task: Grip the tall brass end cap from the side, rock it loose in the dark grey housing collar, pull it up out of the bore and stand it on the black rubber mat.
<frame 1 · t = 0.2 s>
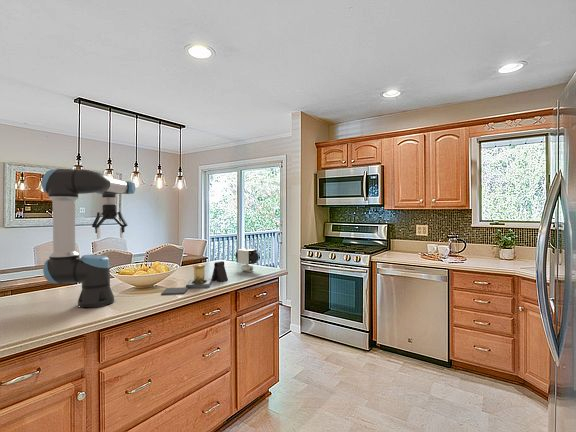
hand: (110, 238, 199), 28 cm above the table, tool pointing down, fingers open, 13 cm apart
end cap: (199, 275, 189), in the housing
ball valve: (247, 271, 231), on the table
housing: (199, 285, 189), on the table
phone stand: (219, 280, 202), on the table
mat: (175, 291, 175), on the table
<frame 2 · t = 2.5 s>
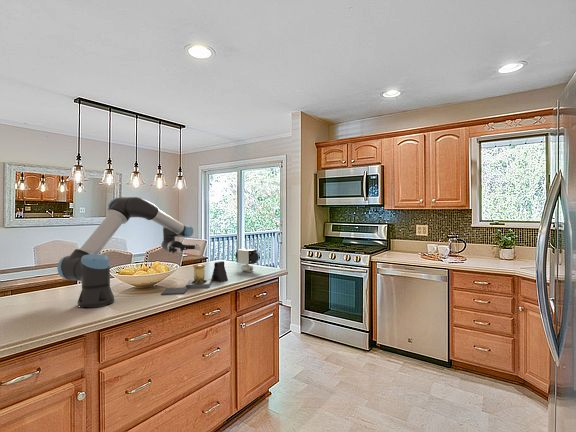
hand: (190, 249, 196), 21 cm above the table, tool horizontal, fingers open, 13 cm apart
nothing on the table moved.
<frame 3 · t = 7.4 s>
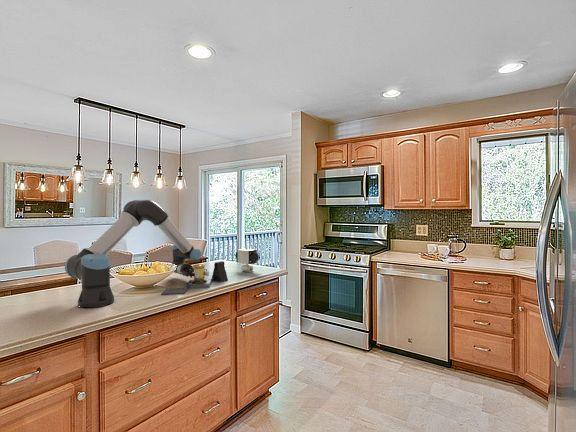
hand: (203, 274, 186), 7 cm above the table, tool horizontal, fingers closed on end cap, 6 cm apart
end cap: (199, 275, 189), in the housing, touching gripper
everything else where it was.
when the fingers open (9 cm above the table, at t = 12.8 s): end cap drops 1 cm, resting on mat.
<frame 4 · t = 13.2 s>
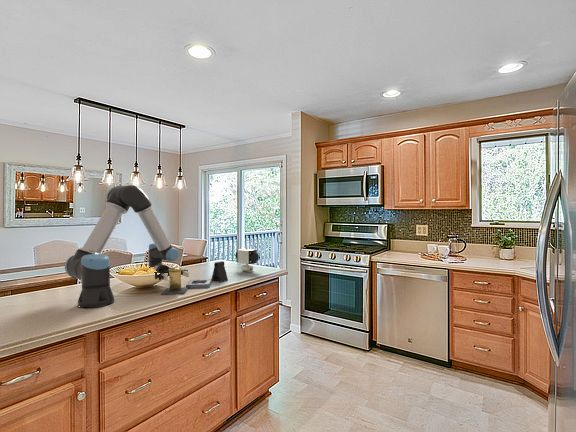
hand: (178, 276, 172), 9 cm above the table, tool horizontal, fingers open, 11 cm apart
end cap: (175, 279, 175), on the mat, point 7 cm above the table
everything else where it was.
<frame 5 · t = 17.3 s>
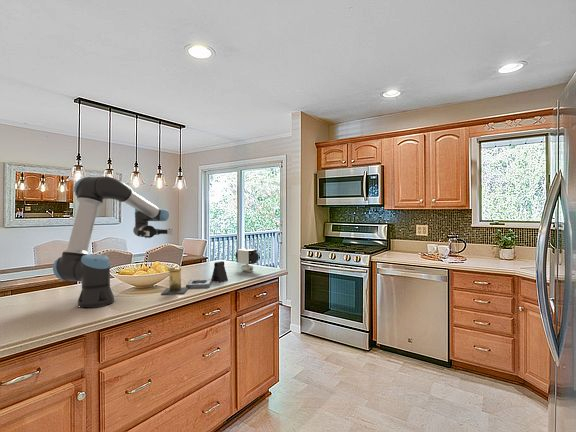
hand: (161, 233, 181), 32 cm above the table, tool horizontal, fingers open, 13 cm apart
nothing on the table moved.
at the end: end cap 0.0 cm from the mat (horizontally); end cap point 6.8 cm above the table; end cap tilted 1° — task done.
